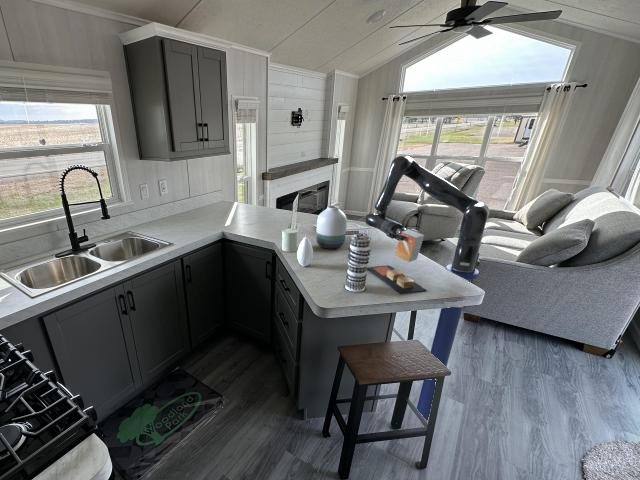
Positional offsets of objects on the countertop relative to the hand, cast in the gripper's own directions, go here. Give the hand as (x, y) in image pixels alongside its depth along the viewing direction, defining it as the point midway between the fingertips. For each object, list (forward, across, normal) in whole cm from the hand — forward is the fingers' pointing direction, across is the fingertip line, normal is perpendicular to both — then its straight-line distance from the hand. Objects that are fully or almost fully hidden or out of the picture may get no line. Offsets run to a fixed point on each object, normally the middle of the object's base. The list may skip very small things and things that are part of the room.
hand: (411, 237), depth 155 cm
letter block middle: (+7, -11, +16) cm, 21 cm away
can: (-44, -46, +17) cm, 66 cm away
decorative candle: (+11, -33, +17) cm, 39 cm away
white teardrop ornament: (-18, -46, +17) cm, 52 cm away
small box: (-2, 0, +11) cm, 11 cm away
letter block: (+15, -11, +16) cm, 25 cm away
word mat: (+7, -11, +17) cm, 21 cm away
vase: (-43, -21, +17) cm, 51 cm away
